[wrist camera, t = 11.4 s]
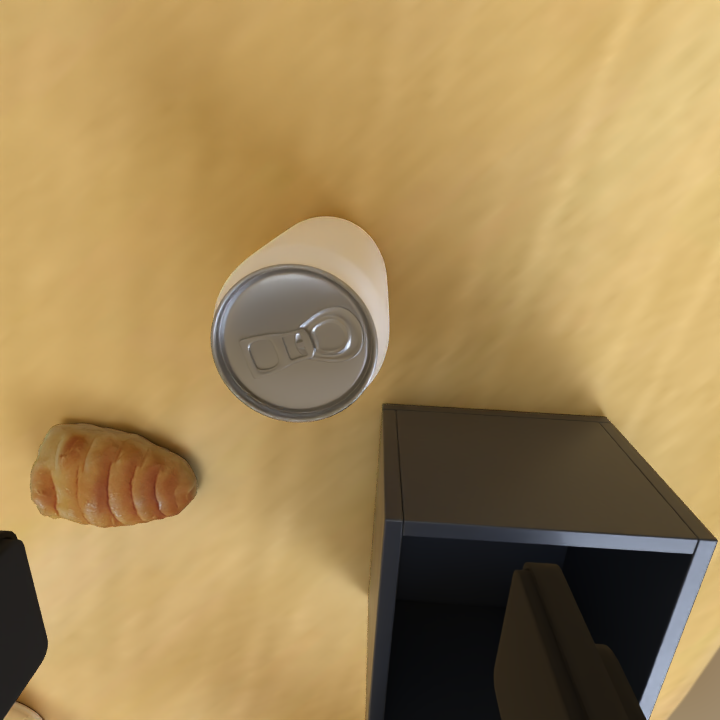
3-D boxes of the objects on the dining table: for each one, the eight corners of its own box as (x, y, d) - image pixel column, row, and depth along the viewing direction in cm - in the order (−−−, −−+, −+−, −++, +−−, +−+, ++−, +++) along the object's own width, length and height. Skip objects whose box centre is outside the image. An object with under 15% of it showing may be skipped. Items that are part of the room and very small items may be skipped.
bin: (382, 402, 31) (384, 519, 21) (606, 416, 30) (718, 540, 20) (368, 597, 36) (364, 762, 26) (557, 609, 36) (626, 781, 26)
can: (399, 313, 29) (412, 408, 17) (292, 343, 29) (239, 452, 18) (367, 199, 26) (358, 223, 15) (252, 235, 27) (165, 283, 16)
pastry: (201, 431, 32) (179, 466, 28) (201, 517, 34) (181, 559, 31) (53, 414, 32) (12, 446, 28) (64, 501, 34) (28, 541, 31)
